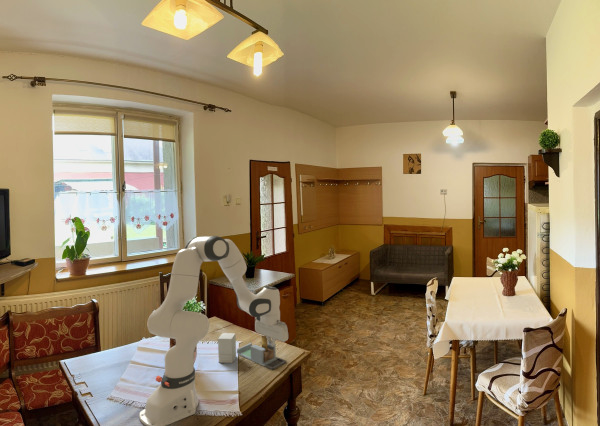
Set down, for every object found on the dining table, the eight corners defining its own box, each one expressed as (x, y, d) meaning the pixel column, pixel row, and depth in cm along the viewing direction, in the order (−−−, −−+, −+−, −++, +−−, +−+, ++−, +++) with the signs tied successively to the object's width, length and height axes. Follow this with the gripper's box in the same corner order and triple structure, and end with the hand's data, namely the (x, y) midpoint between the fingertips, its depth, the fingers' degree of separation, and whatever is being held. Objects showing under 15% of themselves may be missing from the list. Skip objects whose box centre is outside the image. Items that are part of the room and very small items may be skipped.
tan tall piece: (265, 361, 179) (265, 340, 178) (255, 357, 183) (255, 336, 182) (273, 357, 183) (273, 336, 183) (264, 353, 188) (263, 333, 187)
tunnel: (272, 370, 173) (272, 355, 172) (236, 354, 190) (236, 340, 189) (286, 362, 180) (286, 348, 180) (250, 347, 197) (250, 334, 197)
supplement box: (236, 356, 187) (236, 333, 186) (232, 363, 180) (232, 338, 179) (222, 355, 188) (222, 332, 187) (218, 362, 180) (217, 338, 179)
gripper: (291, 321, 174) (291, 348, 175) (261, 312, 187) (262, 337, 188) (282, 325, 170) (282, 353, 170) (252, 315, 183) (253, 341, 184)
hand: (271, 345), depth 180 cm, fingers closed
